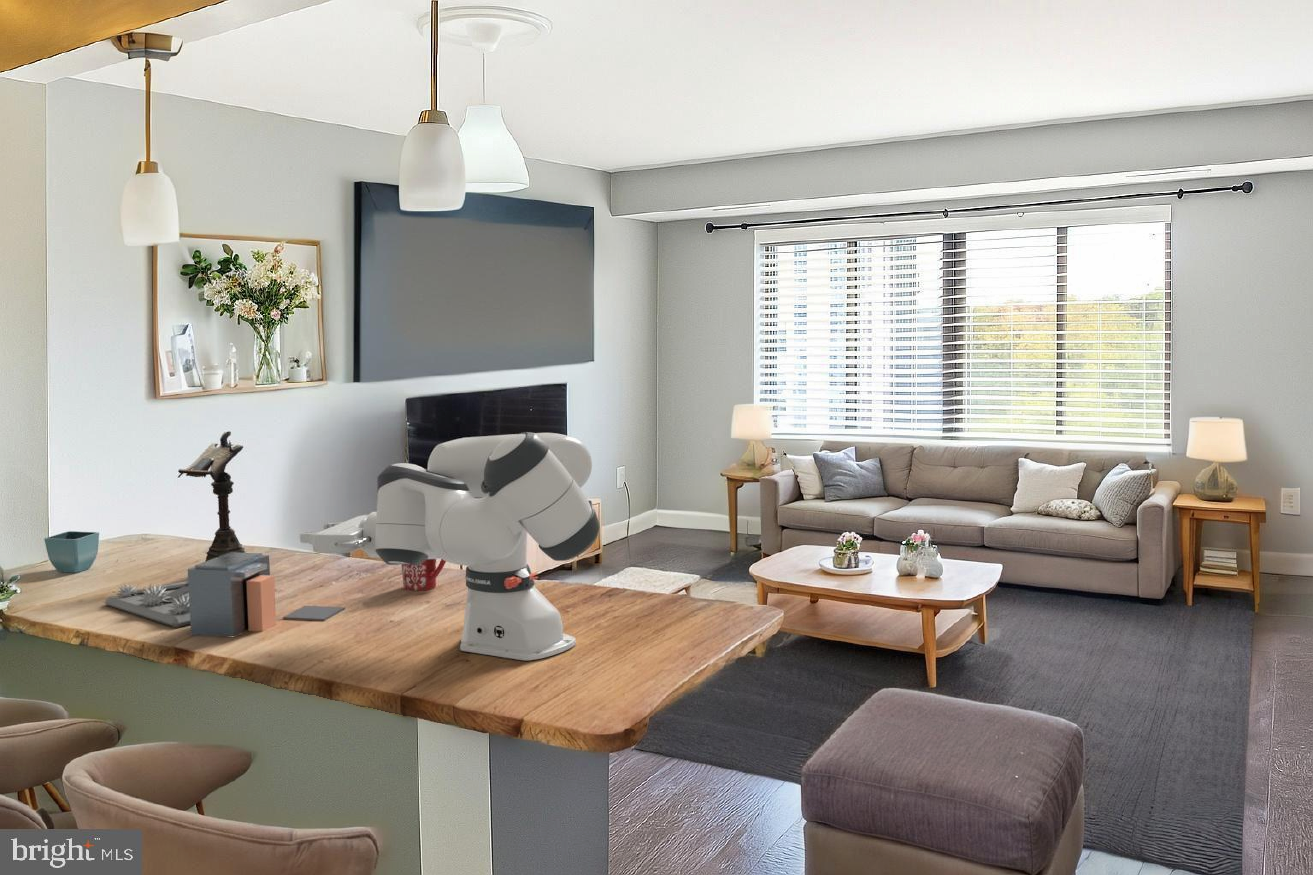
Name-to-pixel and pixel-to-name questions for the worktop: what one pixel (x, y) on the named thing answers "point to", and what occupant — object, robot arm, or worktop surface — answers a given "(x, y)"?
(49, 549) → the flower pot
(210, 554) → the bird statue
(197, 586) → the dispenser
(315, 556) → the worktop surface
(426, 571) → the mug
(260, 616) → the tall salmon pillar
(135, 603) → the spiky succulent planter
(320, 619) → the coaster
